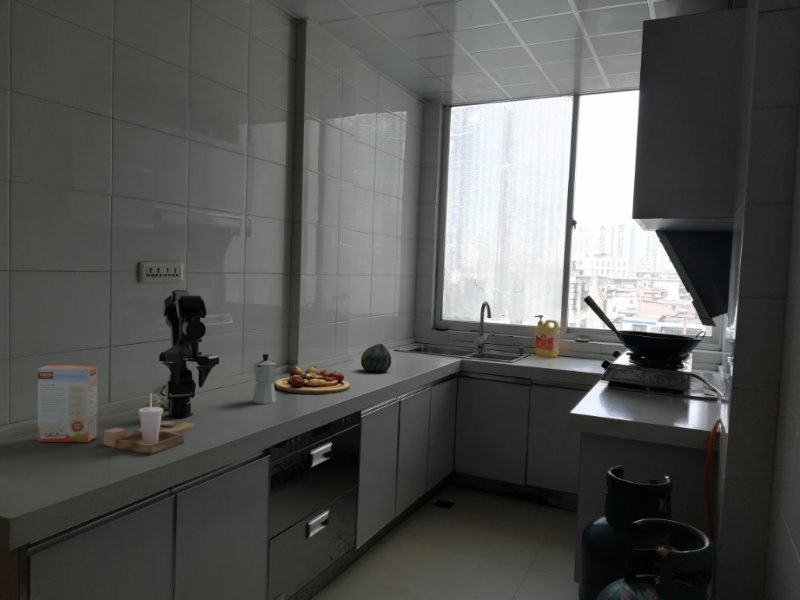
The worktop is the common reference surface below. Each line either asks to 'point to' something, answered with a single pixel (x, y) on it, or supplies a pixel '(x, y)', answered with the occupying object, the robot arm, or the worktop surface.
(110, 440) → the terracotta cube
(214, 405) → the worktop surface
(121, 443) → the wooden tray
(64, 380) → the cracker box
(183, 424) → the lid
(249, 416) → the worktop surface
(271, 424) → the worktop surface
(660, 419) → the worktop surface
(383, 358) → the squash
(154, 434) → the smoothie
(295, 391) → the wooden plate with food
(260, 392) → the coffee maker
